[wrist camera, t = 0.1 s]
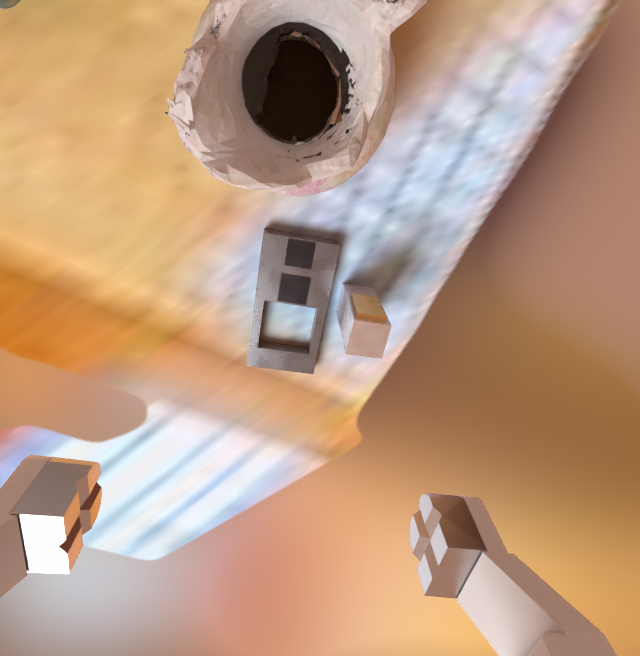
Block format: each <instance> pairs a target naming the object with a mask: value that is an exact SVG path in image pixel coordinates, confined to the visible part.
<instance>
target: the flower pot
mask: <svg viewBox="0 0 640 656" xmlns="http://www.w3.org/2000/svg"><path fill="white" fill-rule="evenodd" d="M19 1H20V0H0V8H2V9H6V8H11V7H13V6H15V5H16V4H17V3H18V2H19Z"/></svg>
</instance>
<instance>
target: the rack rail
mask: <svg viewBox="0 0 640 656" xmlns="http://www.w3.org/2000/svg"><path fill="white" fill-rule="evenodd" d="M339 250H340V243H339V241H333V240H328V239H322V238H316V237H310V236H304V235H298V234H292V233H286V232H281V231H275V230H269V229H264V234H263V241H262V249H261V257H260V265H259V272H258V280H257V288H256V295H255V303H254V311H253V319H252V326H251V334H250V342H249V350H248V357H247V365H246V366H253V367H261V368H269V369H277V370H285V371H293V372H301V373H309V374H313V372H314V368H315V363H316V358H317V354H318V349H319V344H320V340H321V335H322V330H323V325H324V321H325V316H326V311H327V307H328V302H329V297H330V293H331V288H332V283H333V278H334V274H335V269H336V264H337V260H338V255H339ZM264 300H265V301H271V302H278V303H285V304H292V305H299V306H305V307H312V308H316V312H315V317H314V321H313V326H312V331H311V336H310V341H309V346H308V348H306V347H299V346H291V345H284V344H276V343H269V342H261V341H259V334H260V327H261V320H262V313H263V306H264Z"/></svg>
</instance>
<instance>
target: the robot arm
mask: <svg viewBox="0 0 640 656" xmlns="http://www.w3.org/2000/svg"><path fill="white" fill-rule="evenodd" d="M100 474H101V472H100V464H99V463H97V462H90V461H82V460H74V459H65V458H57V457H46V456H37V455H30V456H28V457H27V458H25V459H24V460H23V461H22V462H21V463H20V465H19V466H18V467H17V468H16V470H15V471H14V472H13V474H12V475H11V476H10V477H9V479H8V480H7V481H6V482H5V484H4V485H3V486H2V488H1V489H0V598H1V597H2V596H3V595H4V594H5V593H6V592H8V591H9V590H10V589H11V588H12V587H13V586H15V585H16V584H17V583H18V582H20V581H21V580H22V579H23V578H24V577H25V576H27V572H34V573H64V574H69V573H70V571H71V569H72V567H73V565H74V563H75V561H76V559H77V557H78V555H79V553H80V551H81V549H82V547H83V541H82V535H83V534H85V533H86V532H87V531H89V530H90V529H91V528H92V526H93V524H94V522H95V520H96V518H97V514H98V511H99V508H100V504H101V496H102V490H101V486H100V485H99V484H98V483H97V480H98V478H99V476H100ZM418 504H419V507H420V511H418V512H417V513H415V514H414V515H413V518H412V520H411V523H410V532H409V537H410V544H411V548H412V552H413V554H414V555H415V556H416V557H417V558H418V559H419V560H420V561H421V562H420V564H419V567H418V569H417V571H418V574H419V578H420V581H421V585H422V588H423V592H424V595H426V596H436V597H446V598H457V600H456V601H457V602H458V603H459V604H460V606H461V607H462V608H463V609H464V611H465V612H466V613H467V615H468V616H469V617H470V619H471V620H472V621H473V623H474V624H475V625H476V626H477V628H478V629H479V630H480V632H481V633H482V634H483V635H484V637H485V638H486V639H487V641H488V642H489V643H490V645H491V646H492V647H493V648H494V650H495V651H496V652H497V654H498V655H499V656H617V655H616V653H615V652H614V650H613V648H612V647H611V645H610V643H609V642H608V640H607V638H606V637H605V635H604V634H603V633H602V632H601V631H600V630H599V629H598V628H597V627H596V626H594V625H593V624H592V623H591V622H590V621H589V620H587V618H585V617H584V616H583V615H582V614H581V613H580V612H579V611H577V610H576V609H575V608H574V607H573V606H572V605H571V604H570V603H568V602H567V601H566V600H565V599H564V598H563V597H562V596H561V595H559V594H558V593H557V592H556V591H555V590H554V589H553V588H552V587H550V586H549V585H548V584H547V583H546V582H545V581H544V580H543V579H541V578H540V577H539V576H538V575H537V574H536V573H535V572H534V571H532V570H531V569H530V568H529V567H528V566H527V565H526V564H524V563H523V562H522V561H521V560H520V559H519V558H518V557H517V556H516V555H514V554H510V553H508V552H507V550H506V548H505V546H504V544H503V542H502V540H501V538H500V536H499V534H498V532H497V529H496V527H495V526H494V524H493V521H492V519H491V517H490V515H489V513H488V511H487V509H486V507H485V506H484V503H483V501H482V500H481V499H479V498H475V497H464V496H460V497H459V496H453V495H441V494H429V493H424V494H423V495H422V496H421V498H420V500H419V503H418Z"/></svg>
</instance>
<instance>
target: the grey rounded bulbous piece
mask: <svg viewBox="0 0 640 656" xmlns="http://www.w3.org/2000/svg"><path fill="white" fill-rule="evenodd" d="M428 1H429V0H211V1H210V2H209V4H208V6H207V7H206V9H205V11H204V12H203V14H202V17H201V20H200V22H199V25H198V27H197V29H196V32H195V34H194V37H193V42H192V47H191V48H190V49H186V50H185V51H184V53H187V56H186V59H185V61H184V64H183V68H182V70H180V72H179V74H178V76H177V78H176V81H175V87H174V101H173V100H171V99H168V98H167V102H168V106H169V110H170V111H169V112H165V113H166V114H167V115H168V116H170V117H171V118H172V119H173V121H174V122H175V124H176V127H177V130H178V132H179V137H180V139H181V141H182V142H183V144H184V146H185V147H186V149H187V150H188V151H190V152H191V153H192V154H193V155H194V156H195V157H196V158H197V159H198V160H199V161H200V162H201V164H202V165H203V166H204V167H205V168H206V169H207V170H208V172H209V173H210V174H211V175H212V176H213V177H214V178H215V179H217V180H220V181H222V182H225V183H227V184H229V185H233V186H237V187H241V188H246V189H251V190H264V191H270V192H272V193H279V194H286V195H292V196H307V195H312V194H316V193H320V192H324V191H327V190H330V189H333V188H335V187H337V186H339V185H341V184H342V183H344V182H346V181H347V180H348V179H349V178H351V177H352V176H353V175H355V174H356V173H357V172H358V171H359V170H360V169H361V168H362V167H363V166H364V165H365V164H366V163H367V162H368V161H369V160H370V158H371V157H372V155H373V154H374V153H375V151H376V150H377V148H378V147H379V145H380V143H381V141H382V139H383V138H384V136H385V133H386V130H387V127H388V124H389V121H390V118H391V115H392V112H393V109H394V105H395V78H396V66H395V59H394V54H393V50H392V46H391V42H390V35H391V33H392V32H393V31H394V30H395V29H396V28H397V27H398V26H400V25H401V24H402V23H404V22H405V21H407V20H408V19H409V18H411V17H412V16H413V15H414V14H415V13H416V12H417V11H418V10H419V9H420V8H421V7H422V6H423V5H424V4H425V3H426V2H428ZM295 31H297V32H295ZM289 39H290V40H293V41H294V40H296V41H297V40H302V41H305V42H307V43H310V44H311V45H312V46H313V47H315V48H317V51H319V50H320V52H322V53H323V55H324V56H325V59H327V61H328V63H329V65H330V67H331V71H332V74H333V75H334V78H336V85H337V92H338V93H337V97H336V101H335V103H336V104H335V108H334V109H333V113H332V114H331V115H329V117H328V119H327V123H326V125H325V126H324V127H323V128H322V130H321V131H320V132H318V133H317V134H315V135H313V136H312V137H310V138H309V139H307V140H303V139H302V140H301V141H300V140H298V139H297V140H296V136H294V137H293V138H292V139H290V141H287V140H282V139H279V138H277V137H275V136H274V135H272V134H271V133H269V132H268V131H267V130H266V129H264V128H263V127H262V126H261V125H260V123H259V122H258V121H257V117H258V116H259V115H263V114H265V113H264V111H263V109H262V105H263V103H264V99H265V97H266V95H267V88H268V79H267V75H268V74H269V73H270V72H271V67H272V65H274V64H275V60H276V59H277V53H278V52H279V50H278V46H279V45H280V44H281V43H280V41H281V40H289ZM340 107H341V117H342V121H341V122H340V121H339V122H340V123H339V122H338V123H337V124H335V122H336V119H337V116H338V113H339V110H340Z"/></svg>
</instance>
